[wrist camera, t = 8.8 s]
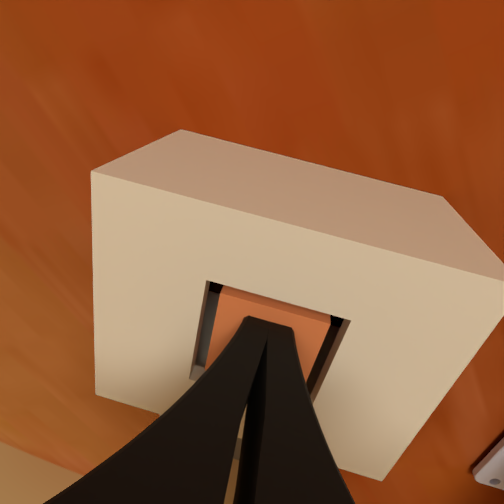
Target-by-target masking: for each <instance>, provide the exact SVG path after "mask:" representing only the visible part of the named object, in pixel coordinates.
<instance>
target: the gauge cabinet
mask: <svg viewBox="0 0 504 504" xmlns="http://www.w3.org/2000/svg"><path fill="white" fill-rule="evenodd" d="M91 201H92V250H93V298H94V346H95V394H96V395H98V396H102V397H105V398H108V399H111V400H115V401H118V402H121V403H125V404H128V405H131V406H135V407H138V408H141V409H145V410H148V411H151V412H154V413H158V414H161V415H162V414H163V413H164V412H165V411H167V410H168V409H169V408H170V407H171V406H172V405H173V404H174V403H175V402H176V401H177V400H178V399H179V398H180V397H181V396H182V395H183V394H184V393H185V392H186V391H187V390H188V389H189V388H190V387H191V386H192V385H193V384H194V383H195V382H196V381H197V380H198V379H199V378H200V377H201V375H202V374H203V373H204V372H205V371H206V370H205V365H206V360H207V356H208V351H209V346H210V341H211V336H212V331H213V326H214V321H215V316H216V311H217V306H218V301H219V297H220V294H219V293H215V292H211V291H208V290H209V285H210V281H212V282H215V283H219V284H222V285H226V286H230V287H233V288H237V289H240V290H244V291H247V292H251V293H255V294H258V295H262V296H265V297H269V298H272V299H276V300H280V301H283V302H287V303H290V304H294V305H298V306H301V307H305V308H308V309H312V310H315V311H319V312H323V313H326V314H330V315H333V316H337V317H340V318H344V320H343V322H342V325H341V327H340V328H339V327H336V326H332V325H330V327H329V329H328V331H327V334H326V336H325V339H324V341H323V343H322V346H321V348H320V350H319V353H318V355H317V357H316V360H315V362H314V365H313V367H312V369H311V372H310V374H309V376H308V379H307V381H306V386H307V389H308V392H309V395H310V399H311V401H312V404H313V407H314V410H315V413H316V416H317V418H318V421H319V424H320V427H321V429H322V432H323V434H324V437H325V439H326V442H327V444H328V447H329V449H330V451H331V454H332V456H333V458H334V460H335V463H336V465H337V467H338V468H340V469H343V470H346V471H349V472H353V473H356V474H359V475H363V476H366V477H369V478H373V479H376V480H379V481H383V479H384V478H385V477H386V475H387V474H388V472H389V471H390V470H391V468H392V467H393V466H394V464H395V463H396V461H397V460H398V459H399V457H400V456H401V455H402V453H403V452H404V451H405V449H406V448H407V446H408V445H409V444H410V442H411V441H412V440H413V438H414V437H415V436H416V434H417V433H418V431H419V430H420V429H421V427H422V426H423V425H424V423H425V422H426V421H427V419H428V418H429V416H430V415H431V414H432V412H433V411H434V410H435V408H436V407H437V406H438V404H439V403H440V401H441V400H442V399H443V397H444V396H445V395H446V393H447V392H448V391H449V389H450V388H451V386H452V385H453V384H454V382H455V381H456V380H457V378H458V377H459V376H460V374H461V373H462V371H463V370H464V369H465V367H466V366H467V365H468V363H469V362H470V361H471V359H472V358H473V356H474V355H475V354H476V352H477V351H478V350H479V348H480V347H481V346H482V344H483V343H484V341H485V340H486V339H487V337H488V336H489V335H490V333H491V332H492V331H493V329H494V328H495V326H496V325H497V324H498V322H499V321H500V320H501V318H502V317H503V316H504V264H503V263H502V262H501V260H500V259H499V258H498V257H497V256H496V255H495V254H494V253H493V252H492V251H491V249H490V248H489V247H488V246H487V245H486V244H485V243H484V242H483V241H482V240H481V238H480V237H479V236H478V235H477V234H476V233H475V232H474V231H473V230H472V229H471V227H470V226H469V225H468V224H467V223H466V222H465V221H464V220H463V219H462V217H461V216H460V215H459V214H458V213H457V212H456V211H455V210H454V209H453V208H452V206H451V205H450V204H449V203H448V202H447V201H446V200H445V199H444V198H443V197H442V196H438V195H435V194H431V193H427V192H423V191H419V190H415V189H411V188H407V187H403V186H400V185H396V184H392V183H388V182H384V181H380V180H376V179H372V178H368V177H365V176H361V175H357V174H353V173H349V172H345V171H341V170H337V169H333V168H330V167H326V166H322V165H318V164H314V163H310V162H306V161H302V160H299V159H295V158H291V157H287V156H283V155H279V154H275V153H271V152H267V151H264V150H260V149H256V148H252V147H248V146H244V145H240V144H236V143H232V142H229V141H225V140H221V139H217V138H213V137H209V136H205V135H201V134H198V133H194V132H190V131H186V130H182V129H181V130H179V131H176V132H174V133H172V134H170V135H168V136H165V137H163V138H161V139H159V140H157V141H155V142H152V143H150V144H148V145H146V146H144V147H142V148H139V149H137V150H135V151H133V152H131V153H129V154H126V155H124V156H122V157H120V158H118V159H116V160H113V161H111V162H109V163H107V164H105V165H103V166H100V167H98V168H96V169H94V170H92V171H91ZM246 406H247V405H246ZM245 414H246V408H245V411H244V414H243V417H242V420H241V423H240V428H239V433H238V437H237V438H240V439H242V436H243V428H244V421H245Z"/></svg>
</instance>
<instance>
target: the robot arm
mask: <svg viewBox="0 0 504 504" xmlns="http://www.w3.org/2000/svg"><path fill="white" fill-rule="evenodd" d="M246 405H247V406H246ZM245 408H246V414H245V421H244V428H243V436H242V443H241V451H240V458H239V466H238V473H237V481H236V488H235V494H234V500H233V504H355V502H354V500H353V498H352V496H351V494H350V492H349V490H348V488H347V486H346V484H345V482H344V480H343V478H342V476H341V474H340V471H339V469H338V467H337V465H336V463H335V460H334V458H333V456H332V454H331V451H330V449H329V447H328V444H327V442H326V439H325V437H324V434H323V432H322V429H321V427H320V424H319V421H318V418H317V416H316V413H315V410H314V407H313V404H312V401H311V399H310V395H309V392H308V389H307V386H306V382H305V379H304V376H303V372H302V368H301V364H300V360H299V356H298V352H297V347H296V341H295V335H294V331H293V329H292V327H288V326H285V325H281V324H277V323H274V322H270V321H267V320H263V319H260V318H256V317H253V316H249V315H248V316H246V317H244V318H243V321H242V323H241V325H240V326H239V328H238V330H237V331H236V333H235V334H234V336H233V337H232V339H231V340H230V342H229V343H228V344H227V346H226V347H225V348H224V350H223V351H222V352H221V353H220V355H219V356H218V357H217V358H216V360H215V361H214V362H213V363H212V364H211V366H210V367H209V368H208V369H207V370H206V371H205V372H204V373H203V374H202V375H201V377H200V378H199V379H198V380H197V381H196V382H195V383H194V384H193V385H192V386H191V387H190V388H189V389H188V390H187V391H186V392H185V393H184V394H183V395H182V396H181V397H180V398H179V399H178V400H177V401H176V402H175V403H174V404H173V405H172V406H171V407H170V408H169V409H168V410H167V411H165V412H164V413H163V414H162V415H161V416H160V417H159V418H158V419H156V420H155V421H154V422H153V423H152V424H151V425H149V426H148V427H147V428H146V429H145V430H144V431H142V432H141V433H140V434H139V435H138V436H136V437H135V438H134V439H133V440H131V441H130V442H129V443H128V444H126V445H125V446H124V447H123V448H121V449H120V450H119V451H117V452H116V453H115V454H113V455H112V456H111V457H109V458H108V459H107V460H105V461H104V462H102V463H101V464H100V465H98V466H97V467H96V468H94V469H93V470H92V471H90V472H89V473H88V474H86V475H85V476H83V477H82V478H81V479H79V480H78V481H77V482H75V483H74V484H72V485H71V486H69V487H68V488H66V489H65V490H63V491H62V492H60V493H59V494H57V495H56V496H54V497H53V498H51V499H50V500H48V501H46V502H45V503H43V504H224V500H225V495H226V490H227V485H228V481H229V476H230V471H231V466H232V461H233V456H234V451H235V447H236V442H237V437H238V433H239V428H240V423H241V420H242V417H243V414H244V411H245ZM472 472H473V476H474V478H475V480H476V481H477V482H479V483H481V484H485V485H488V486H492V487H495V488H498V489H502V490H504V438H503V439H502V440H501V441H500V442H499V443H498V444H497V445H496V446H495V447H494V448H493V449H492V450H491V451H490V452H489V453H488V454H487V456H486V457H485V458H484V459H483V460H482V461H481V462H480V463H479V464H478V465H477V466H476V467H475V468H474V469H473V471H472Z"/></svg>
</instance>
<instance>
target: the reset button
mask: <svg viewBox="0 0 504 504" xmlns="http://www.w3.org/2000/svg"><path fill="white" fill-rule="evenodd" d="M248 315H249V316H253V317H256V318H260V319H263V320H267V321H270V322H274V323H277V324H281V325H285V326H288V327H292V329H293V331H294V335H295V341H296V347H297V352H298V356H299V360H300V364H301V368H302V372H303V376H304V379H305V382H306V381H307V379H308V376H309V374H310V372H311V369H312V367H313V365H314V362H315V360H316V357H317V355H318V353H319V350H320V348H321V346H322V343H323V341H324V339H325V336H326V334H327V331H328V329H329V327H330V324H331V321H330V314H326V313H323V312H319V311H315V310H312V309H308V308H305V307H301V306H298V305H294V304H290V303H287V302H283V301H280V300H276V299H272V298H269V297H265V296H262V295H258V294H255V293H251V292H247V291H244V290H240V289H237V288H233V287H230V286H226V285H224V286H223V288H222V290H221V292H220V297H219V301H218V306H217V311H216V316H215V321H214V326H213V331H212V336H211V341H210V346H209V351H208V356H207V360H206V365H205V370H207V369H208V368H209V367H210V366H211V364H212V363H213V362H214V361H215V360H216V358H217V357H218V356H219V355H220V353H221V352H222V351H223V350H224V348H225V347H226V346H227V344H228V343H229V342H230V340H231V339H232V337H233V336H234V334H235V333H236V331H237V330H238V328H239V326H240V325H241V323H242V321H243V318H244V317H246V316H248Z"/></svg>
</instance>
